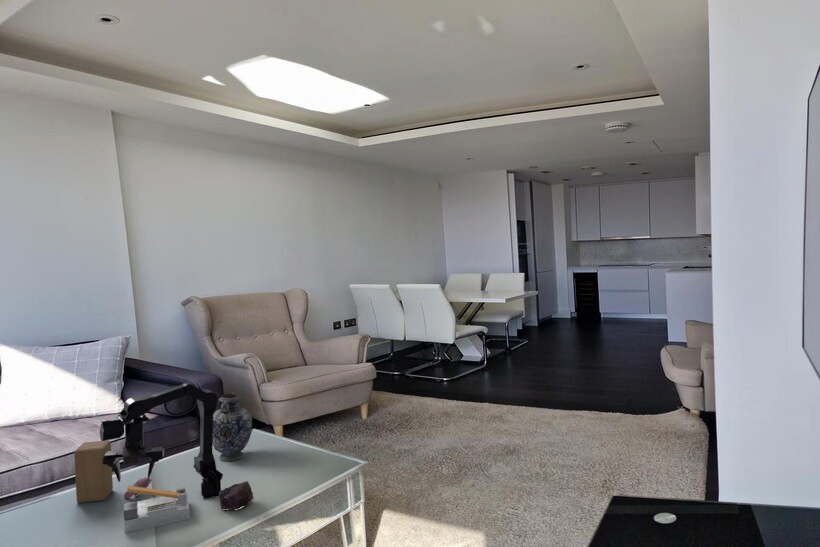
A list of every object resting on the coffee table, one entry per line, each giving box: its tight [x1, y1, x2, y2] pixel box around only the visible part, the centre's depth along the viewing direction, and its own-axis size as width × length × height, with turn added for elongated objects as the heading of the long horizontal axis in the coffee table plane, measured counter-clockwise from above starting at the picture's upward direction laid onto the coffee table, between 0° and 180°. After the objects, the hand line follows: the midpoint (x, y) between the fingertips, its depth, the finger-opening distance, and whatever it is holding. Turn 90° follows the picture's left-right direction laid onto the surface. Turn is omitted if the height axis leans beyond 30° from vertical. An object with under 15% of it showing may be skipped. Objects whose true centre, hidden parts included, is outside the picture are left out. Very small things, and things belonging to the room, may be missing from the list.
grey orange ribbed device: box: [123, 487, 191, 534], centre depth 194 cm, size 20×14×7 cm
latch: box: [123, 500, 138, 521], centre depth 187 cm, size 4×6×3 cm, turn 25°
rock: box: [218, 480, 254, 511], centre depth 199 cm, size 12×9×10 cm
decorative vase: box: [213, 391, 253, 463], centre depth 248 cm, size 21×19×28 cm
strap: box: [126, 485, 182, 498], centre depth 195 cm, size 19×3×1 cm, turn 116°
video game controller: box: [123, 476, 152, 499], centre depth 213 cm, size 10×5×7 cm, turn 169°
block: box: [73, 440, 114, 504], centre depth 211 cm, size 10×10×20 cm
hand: (134, 479), depth 193 cm, fingers open, 9 cm apart
